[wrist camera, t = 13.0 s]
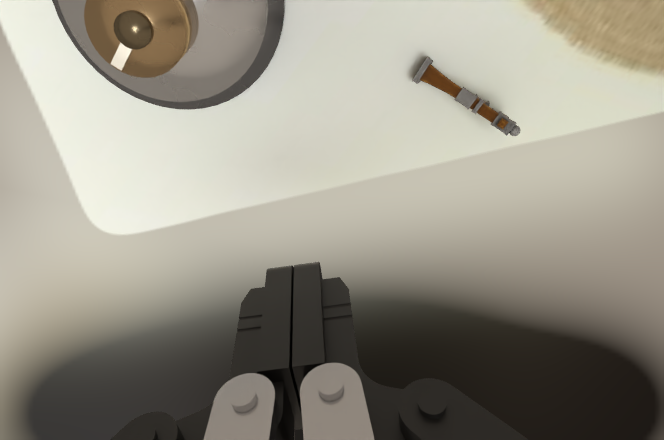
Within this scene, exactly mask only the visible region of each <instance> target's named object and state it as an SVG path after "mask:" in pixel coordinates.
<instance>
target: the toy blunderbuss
mask: <svg viewBox="0 0 664 440" xmlns="http://www.w3.org/2000/svg"><path fill="white" fill-rule="evenodd" d="M432 62H433V60H431V59H430V58H429V57H427V58H426V60H425V61H424V63H423V64H422V66H421V68H420V69H419V71H418V72H417V74H416V75H415V77H414V79H413V80H412V81H414V82H416V83H419V82H420V81H423V82H426V83H428V84H430V85H432V86H434V87H436V88H438V89H440V90H442V91H444V92H446V93H448V94H450V95H451V96H453V97H454V98H455V100H456V101H458V102H459V103H461V104H462V105H464V106H465V107H466V108H467V109H469V108H471V109H472V112H474V113H476V112H477V113H478V114H479V115H481V116H483V117H484V118H486V119H487V120H489V121H490V122H492V123H491V125H492V126H495V127H496V128H498V129H499V130H500V131H502V132H503V133H505V134H506V135H508V133H510V135H512V136H517V135H518V134H519V133H520V127H519V126H517V125H516V122H514V121H512V120H511V119H509V117H508V116H506V115H505V114H503V113H502V112H500V113H497V112H496V111H495V110H493V108H490V107H489V104H490V102H489V101H488V102H485V101H484V100H482V99H481V98H479V97H478V96H477V94H476V95H474V94H472V93H471V92H469V91H468V90H466V89H465V88H464V87H463V88H461V87H459V86H458V85H456V84H455V83H453V82H452V81H451V80H449V79H448V78H447V77H445V76H444V75H443V74H442V73H440V72H439V71H438V70H437V69H436V68H434V67H433V66H432V65H431V63H432Z"/></svg>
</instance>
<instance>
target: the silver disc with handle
mask: <svg viewBox="0 0 664 440" xmlns="http://www.w3.org/2000/svg"><path fill="white" fill-rule="evenodd" d="M193 2H194V4H195V7H196V10H197V14H198V21H199V28H198V34H197V37H196V40H195V42H194V44H193V46H192V47H191V48H190V50H189V51H188V52H187V53H186V54H185V55H184V56H183V57H182V58H181V59H180V61H179V62H178V63H177V64H176V65H175V66H174V67H173V68H172V69H171V70H169V71H168V72H166V73H164V74H162V75H160V76H156V77H150V78H141V77H135V76H131V75H128V74H125V73H123V72H121V71H119V70H117V69H116V68H114V67H113V66H111V65H110V64H109V63H107V62H106V61H105V60H104V59H103V58H102V57H101V56H100V54H99V53H98V52H97V51H96V49H95V48H94V46H93V44H92V43H91V41H90V39H89V36H88V34H87V31H86V27H85V21H84V9H85V3H86V0H58V3H59V6H60V9H61V11H62V14H63V16H64V19H65V21H66V23H67V25H68V27H69V29H70V31H71V33H72V34H73V36H74V37H75V39H76V40H77V42H78V44H79V45H80V47H81V48H82V49H83V50H84V51H85V53H86V54H87V55H88V56H89V58H90V59H91V60H92V61H93V62H94V63H95V64H96V65H97V66H98V67H99V68H100V69H101V70H103V71H104V72H105V73H106V74H108V75H109V76H110V77H111V78H113V79H114V80H116V81H117V82H119V83H120V84H122V85H123V86H125V87H127V88H129V89H131V90H133V91H135V92H137V93H140V94H142V95H145V96H148V97H151V98H155V99H159V100H164V101H172V102H188V101H197V100H201V99H205V98H209V97H211V96H214V95H216V94H219V93H221V92H222V91H224V90H226V89H227V88H229V87H230V86H232V85H233V84H234V83H235V82H237V81H238V80H239V79H240V78H241V77H242V76H243V75H244V74H245V73H246V72H247V70H248V69H249V67H250V66H251V64H252V63H253V62H254V60H255V58H256V56H257V54H258V52H259V49H260V47H261V44H262V41H263V38H264V34H265V30H266V25H267V17H268V0H193Z"/></svg>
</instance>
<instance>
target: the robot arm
mask: <svg viewBox="0 0 664 440" xmlns="http://www.w3.org/2000/svg"><path fill="white" fill-rule="evenodd" d="M239 319H240V320H239V322H238V328H237V331H238V332H237V334H236V341H235V347H234V353H233V359H232V365H231V372H230V377H229V381H228V382H227V383H225V384H224V385H223V386H222V388H221V389H220V390H219V392H218V393H217V395H216V397H215V399H214V402H213V403H212V404H211V405H209V406H208V407H206V408H204V409H202V410H201V411H199V412H196V413H194V414H191V415H189V416H187V417H184V418H182V419H180V420H177V421H175V420H174V419H173V417H171V416H170V415H168V414H167V413H164V412H151V413H146V414H144V415H141V416H139V417H137V418H135V419H134V420H132V421H131V422H130V423H128V424H127V425H126V426H125V427H124V428H123V429H122V430H120V431H119V432H118V433H117V434H116V435H115V436H114V437H113V438H112V439H111V440H294V430H299V429H303V435H304V440H528V439H527V438H525V437H524V436H522V435H521V434H519V433H518V432H517V431H515V430H514V429H512V428H511V427H509V426H508V425H507V424H505V423H504V422H503V421H501V420H500V419H498V418H497V417H495V416H494V415H493V414H491V413H490V412H488V411H487V410H486V409H484V408H483V407H481V406H480V405H479V404H477V403H476V402H474V401H473V400H471V399H470V398H469V397H467V396H466V395H464V394H463V393H461V392H460V391H459V390H457V389H456V388H454V387H453V386H452V385H450V384H448V383H446V382H444V381H442V380H438V379H431V378H429V379H428V378H427V379H420V380H417V381H414V382H412V383H410V384H409V385H408V386H407V387H406V388H405V389H404V390H403V389H397V388H391V387H386V386H382V385H380V384H377V383H375V382H374V381H372V380H371V379H369V378H368V377H367V376H366V375H365V374H364V373H363V371H362V370H361V367H360V365H359V361H358V355H357V347H356V340H355V333H354V325H353V318H352V311H351V304H350V296H349V289H348V288H347V286H346V285H345V284H344V282H343V281H342V280H341V279H340V278H339V277H338V278H331V279H322V273H321V267H320V263H319V262H315V263H307V264H300V265H294V267H293V266H286V267H278V268H270V269H267V273H266V282H265V287H262V288H255V289H251V290H250V291H249V293H248V294H247V295H246V297H245V298H244V300H243V302H242V303H241V309H240V316H239Z"/></svg>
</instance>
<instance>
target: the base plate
mask: <svg viewBox="0 0 664 440" xmlns="http://www.w3.org/2000/svg"><path fill="white" fill-rule="evenodd" d="M52 1H53V3H54V6H55V9H56V11H57V14H58V17H59V19H60V21H61V23H62V25H63V27H64V29H65V31H66V32H67V34H68V36H69V37H70V39H71V40H72V42H73V43H74V45H75V46H76V48H77V49H78V50H79V51H80V53H81V54H82V55H83V57H84V58H85V59H86V60H87V61H88V62H89V63H90V64H91V65H92V66H93V67H94V68H95V69H96V70H97V71H98V72H99V73H100V74H101V75H102V76H104V77H105V78H106V79H107V80H108V81H110V82H111V83H112V84H114V85H115V86H117V87H118V88H120V89H121V90H123V91H125V92H127V93H128V94H130V95H132V96H134V97H136V98H138V99H141V100H143V101H146V102H148V103H152V104H155V105H159V106H162V107H168V108H175V109H199V108H206V107H210V106H215V105H218V104H221V103H223V102H226V101H228V100H230V99H232V98H234V97H236V96H237V95H239V94H241V93H242V92H243V91H245V90H246V89H247V88H249V87H250V86H251V85H252V84H253V83H254V82H255V81H256V80H257V79H258V78H259V77H260V75H261V74H262V73H263V71H264V70H265V69H266V67H267V66H268V64H269V62H270V60H271V59H272V57H273V55H274V52H275V50H276V47H277V45H278V42H279V39H280V35H281V31H282V26H283V18H284V0H268V17H267V25H266V30H265V34H264V38H263V41H262V44H261V47H260V49H259V52H258V54H257V56H256V58H255V60H254V62H253V63H252V64H251V66H250V67H249V69H248V70H247V72H246V73H245V74H244V75H243V76H242V77H241V78H240V79H239V80H238V81H237V82H235V83H234V84H233V85H232V86H230V87H229V88H227V89H226V90H224V91H222V92H221V93H219V94H216V95H214V96H211V97H209V98H205V99H201V100H197V101H188V102H172V101H164V100H159V99H155V98H151V97H148V96H145V95H142V94H140V93H137V92H135V91H133V90H131V89H129V88H127V87H125V86H123V85H122V84H120V83H119V82H117V81H116V80H114V79H113V78H111V77H110V76H109V75H108V74H106V73H105V72H104V71H103V70H101V69H100V68H99V67H98V66H97V65H96V64H95V63H94V62H93V61H92V60H91V59H90V58H89V56H88V55H87V54H86V53H85V51H84V50H83V49H82V48H81V47H80V45H79V44H78V42H77V40H76V39H75V37H74V36H73V34H72V33H71V31H70V29H69V27H68V25H67V23H66V21H65V19H64V16H63V14H62V11H61V9H60V6H59V3H58V0H52Z"/></svg>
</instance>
